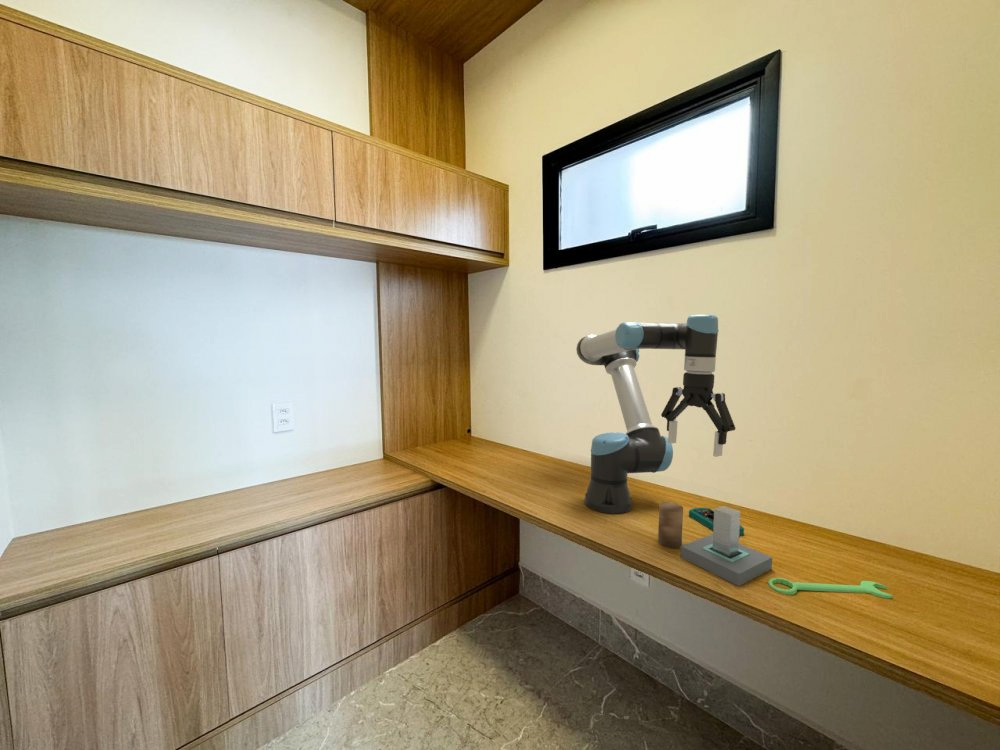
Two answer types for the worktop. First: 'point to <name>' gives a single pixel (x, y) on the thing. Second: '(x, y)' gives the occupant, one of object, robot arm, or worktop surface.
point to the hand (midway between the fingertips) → (693, 449)
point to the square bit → (726, 531)
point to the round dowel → (670, 525)
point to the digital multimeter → (707, 517)
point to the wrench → (830, 587)
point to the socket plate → (727, 561)
